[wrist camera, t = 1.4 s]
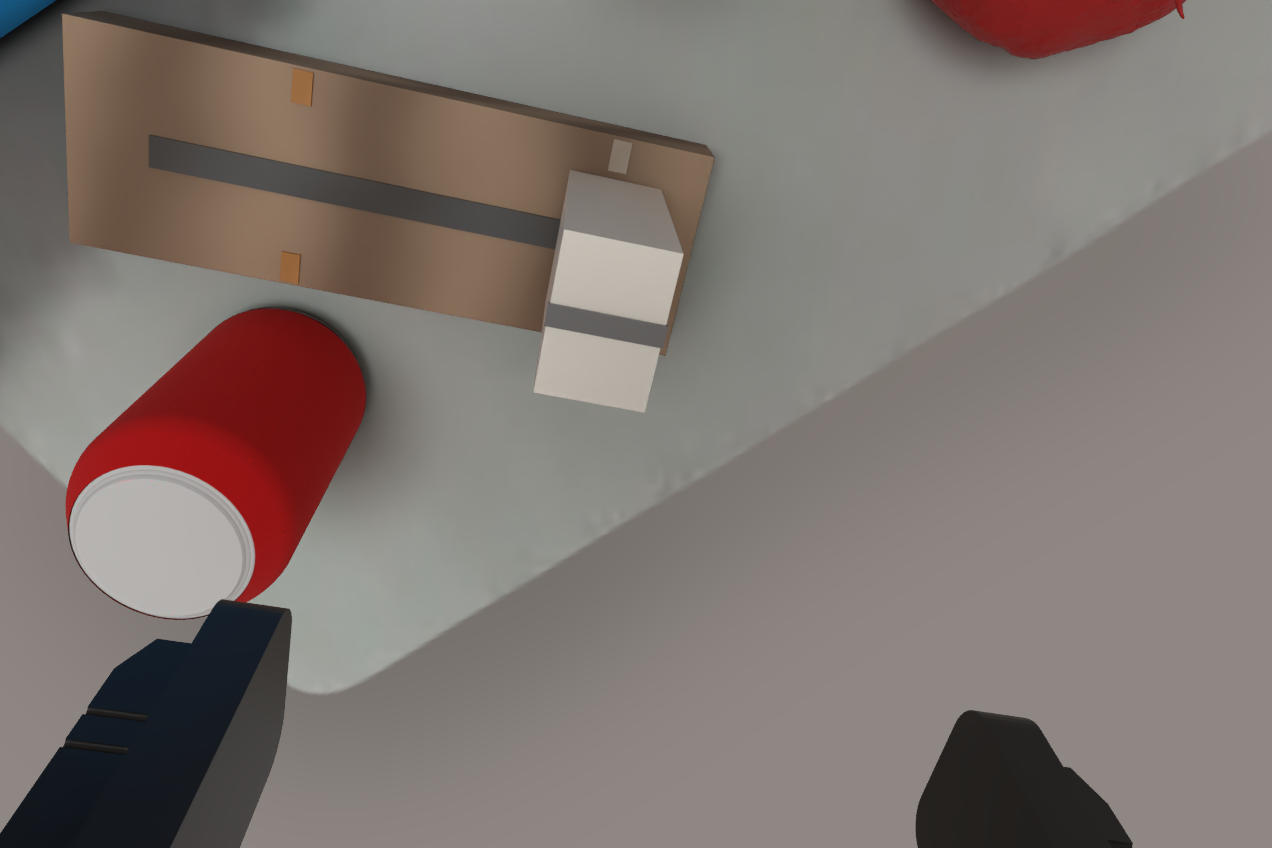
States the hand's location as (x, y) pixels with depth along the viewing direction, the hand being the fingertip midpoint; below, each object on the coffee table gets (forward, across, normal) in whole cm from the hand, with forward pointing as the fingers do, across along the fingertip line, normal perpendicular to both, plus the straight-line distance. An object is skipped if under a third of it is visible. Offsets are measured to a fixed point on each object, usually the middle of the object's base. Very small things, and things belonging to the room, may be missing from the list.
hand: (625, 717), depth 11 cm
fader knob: (+22, 0, 0) cm, 22 cm away
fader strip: (+25, +7, 0) cm, 26 cm away
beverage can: (+25, +10, +8) cm, 28 cm away
